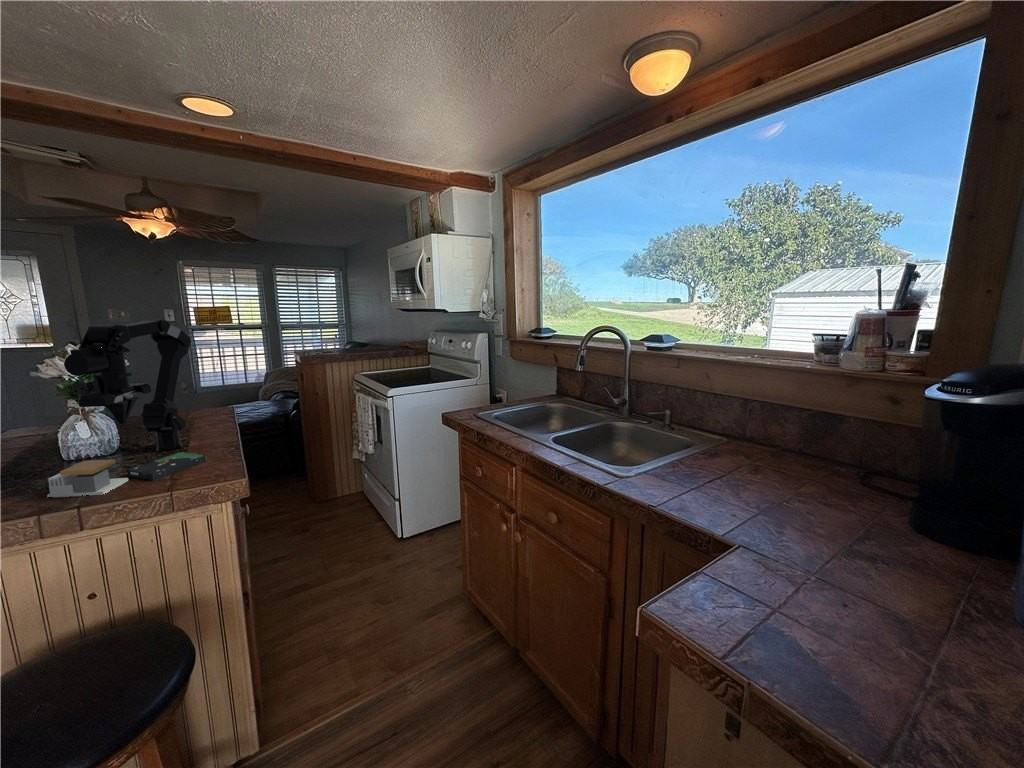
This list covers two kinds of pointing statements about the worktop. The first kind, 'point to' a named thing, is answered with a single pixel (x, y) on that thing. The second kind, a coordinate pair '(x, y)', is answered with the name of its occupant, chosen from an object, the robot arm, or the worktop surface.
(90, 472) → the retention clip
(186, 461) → the disk drive
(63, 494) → the heat sink board
